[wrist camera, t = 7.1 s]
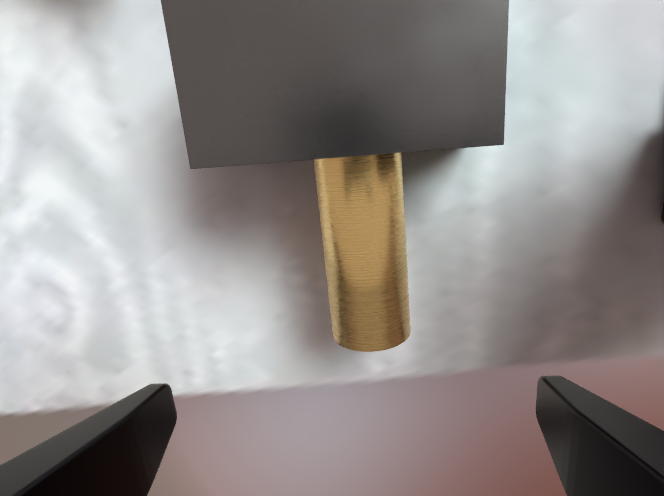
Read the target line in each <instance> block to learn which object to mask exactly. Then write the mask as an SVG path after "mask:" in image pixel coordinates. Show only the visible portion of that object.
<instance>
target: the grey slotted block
mask: <svg viewBox="0 0 664 496" xmlns="http://www.w3.org/2000/svg"><path fill="white" fill-rule="evenodd" d="M161 4H162V9H163V15H164V21H165V26H166V32H167V38H168V43H169V49H170V55H171V60H172V66H173V72H174V77H175V83H176V89H177V94H178V100H179V106H180V111H181V117H182V123H183V128H184V134H185V140H186V146H187V151H188V157H189V163H190V168H191V169H197V168H210V167H223V166H236V165H249V164H262V163H275V162H287V161H300V160H313V159H326V158H339V157H352V156H364V155H377V154H390V153H403V152H416V151H429V150H441V149H454V148H467V147H480V146H493V145H504V119H505V92H506V64H507V37H508V9H509V0H161Z"/></svg>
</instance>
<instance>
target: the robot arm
mask: <svg viewBox="0 0 664 496" xmlns="http://www.w3.org/2000/svg"><path fill="white" fill-rule="evenodd" d="M662 222H663V224H664V204H663V211H662ZM536 415H537V420H538V423H539V425H540V428H541V431H542V433H543V436H544V438H545V441H546V443H547V446H548V449H549V451H550V454H551V456H552V459H553V462H554V464H555V467H556V469H557V472H558V475H559V477H560V480H561V482H562V485H563V487H564V489H565V492H566V494H567V496H664V431H663V430H661V429H659V428H657V427H655V426H653V425H652V424H650V423H648V422H646V421H644V420H642V419H640V418H638V417H636V416H635V415H633V414H631V413H629V412H627V411H625V410H623V409H622V408H620V407H618V406H616V405H614V404H612V403H610V402H608V401H607V400H604V399H603V398H601V397H599V396H597V395H595V394H593V393H591V392H590V391H588V390H586V389H584V388H582V387H580V386H579V385H577V384H575V383H573V382H571V381H569V380H567V379H565V378H564V377H561V376H541V377H540V378H539V380H538V387H537V400H536ZM176 419H177V413H176V408H175V404H174V399H173V395H172V390H171V387H170V386H169V385H168V384H150V385H148V386H146V387H144V388H142V389H140V390H139V391H137V392H135V393H133V394H131V395H129V396H127V397H126V398H124V399H122V400H120V401H118V402H116V403H114V404H113V405H111V406H109V407H107V408H105V409H103V410H101V411H100V412H98V413H96V414H94V415H92V416H90V417H89V418H87V419H85V420H83V421H81V422H79V423H77V424H76V425H74V426H72V427H70V428H68V429H66V430H65V431H63V432H61V433H59V434H57V435H55V436H53V437H52V438H50V439H48V440H46V441H44V442H42V443H40V444H39V445H37V446H35V447H33V448H31V449H29V450H27V451H26V452H24V453H22V454H20V455H18V456H17V457H15V458H13V459H11V460H9V461H7V462H5V463H3V464H2V465H0V496H147V494H148V492H149V490H150V488H151V486H152V483H153V481H154V479H155V476H156V473H157V471H158V468H159V466H160V463H161V461H162V458H163V455H164V453H165V450H166V448H167V445H168V443H169V440H170V437H171V435H172V432H173V429H174V427H175V424H176Z"/></svg>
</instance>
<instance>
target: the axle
mask: <svg viewBox="0 0 664 496" xmlns="http://www.w3.org/2000/svg"><path fill="white" fill-rule="evenodd" d="M314 168H315V177H316V186H317V195H318V204H319V213H320V222H321V231H322V240H323V249H324V258H325V268H326V277H327V286H328V295H329V304H330V313H331V322H332V331H333V337H334V340H335V341H336V342H337V343H338V344H339V345H341V346H343V347H345V348H348V349H351V350H356V351H365V352H371V351H381V350H386V349H390V348H393V347H395V346H398V345H400V344H401V343H403V342H404V341H405V340H406V339H407V338H408V337H409V335H410V315H409V295H408V275H407V256H406V236H405V216H404V197H403V177H402V157H401V153H390V154H377V155H364V156H352V157H339V158H326V159H314Z"/></svg>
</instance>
